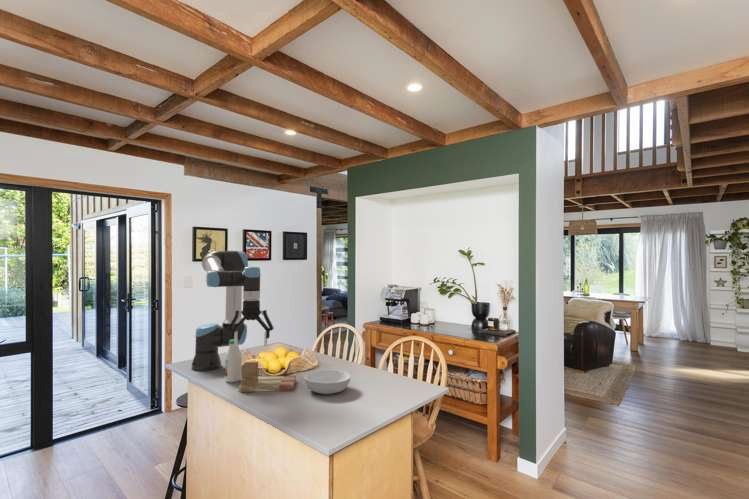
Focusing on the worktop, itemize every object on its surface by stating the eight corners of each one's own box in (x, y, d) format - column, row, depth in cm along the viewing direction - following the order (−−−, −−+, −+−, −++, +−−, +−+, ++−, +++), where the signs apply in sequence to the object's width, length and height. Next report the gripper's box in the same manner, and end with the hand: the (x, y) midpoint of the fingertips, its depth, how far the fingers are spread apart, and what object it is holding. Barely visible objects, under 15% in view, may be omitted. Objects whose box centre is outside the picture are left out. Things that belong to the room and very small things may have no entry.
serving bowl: (343, 400, 166) (343, 384, 166) (297, 396, 170) (297, 381, 170) (355, 385, 186) (355, 371, 186) (313, 382, 190) (314, 368, 190)
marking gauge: (244, 385, 182) (245, 362, 183) (257, 384, 183) (258, 361, 183) (240, 391, 174) (240, 366, 175) (254, 390, 175) (254, 366, 175)
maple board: (246, 382, 189) (246, 376, 189) (295, 381, 191) (295, 376, 192) (238, 391, 175) (238, 386, 175) (292, 390, 178) (292, 385, 178)
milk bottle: (244, 378, 195) (244, 338, 196) (237, 383, 187) (237, 341, 188) (229, 377, 196) (230, 338, 196) (221, 382, 188) (222, 341, 189)
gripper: (221, 300, 176) (220, 347, 175) (277, 300, 178) (276, 347, 177) (226, 299, 183) (225, 344, 183) (279, 299, 186) (279, 343, 185)
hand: (250, 345), depth 180 cm, fingers open, 13 cm apart
